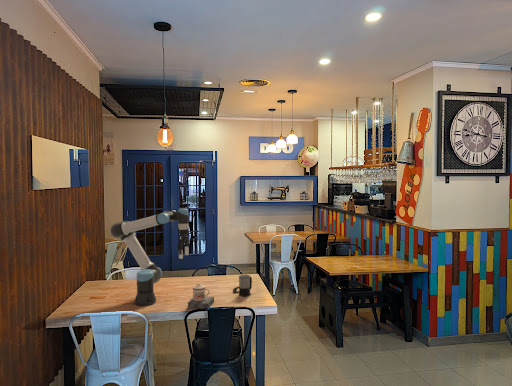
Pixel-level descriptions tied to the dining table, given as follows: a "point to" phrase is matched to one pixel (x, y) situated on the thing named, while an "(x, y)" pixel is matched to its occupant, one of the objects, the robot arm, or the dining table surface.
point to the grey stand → (201, 303)
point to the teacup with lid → (199, 292)
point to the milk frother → (244, 285)
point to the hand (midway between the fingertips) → (183, 256)
